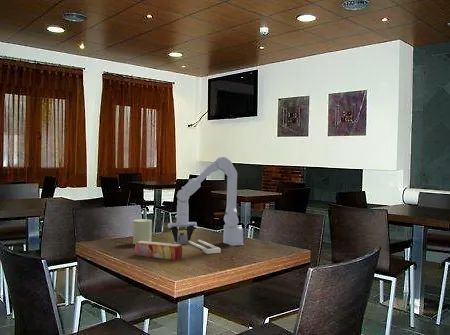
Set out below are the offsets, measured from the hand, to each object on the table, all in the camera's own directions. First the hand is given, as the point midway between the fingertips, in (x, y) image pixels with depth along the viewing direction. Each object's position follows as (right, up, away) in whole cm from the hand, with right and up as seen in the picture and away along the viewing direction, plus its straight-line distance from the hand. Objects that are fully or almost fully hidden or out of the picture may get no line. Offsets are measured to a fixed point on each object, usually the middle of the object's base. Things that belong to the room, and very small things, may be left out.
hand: (182, 241), depth 211 cm
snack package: (-7, -2, -30) cm, 31 cm away
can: (-20, -1, +1) cm, 20 cm away
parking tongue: (0, -2, 0) cm, 2 cm away
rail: (+11, -2, -8) cm, 13 cm away
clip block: (0, -1, 0) cm, 1 cm away
